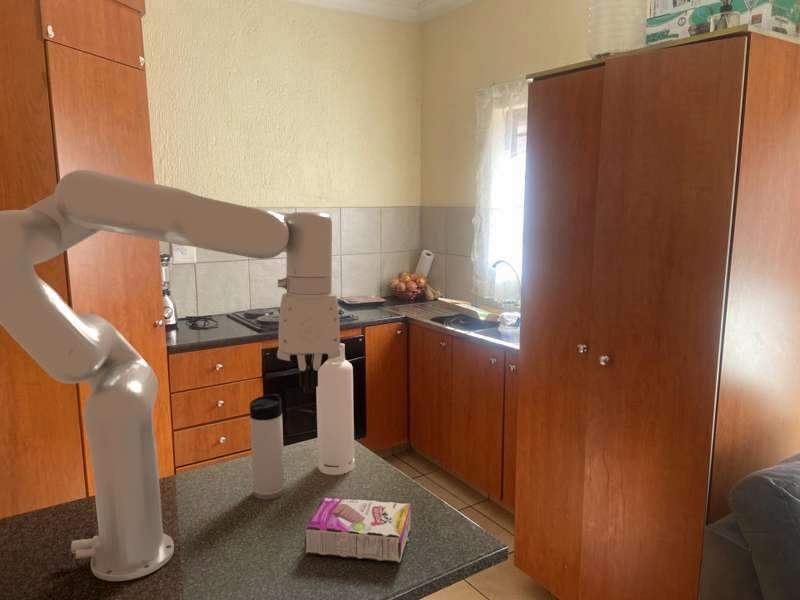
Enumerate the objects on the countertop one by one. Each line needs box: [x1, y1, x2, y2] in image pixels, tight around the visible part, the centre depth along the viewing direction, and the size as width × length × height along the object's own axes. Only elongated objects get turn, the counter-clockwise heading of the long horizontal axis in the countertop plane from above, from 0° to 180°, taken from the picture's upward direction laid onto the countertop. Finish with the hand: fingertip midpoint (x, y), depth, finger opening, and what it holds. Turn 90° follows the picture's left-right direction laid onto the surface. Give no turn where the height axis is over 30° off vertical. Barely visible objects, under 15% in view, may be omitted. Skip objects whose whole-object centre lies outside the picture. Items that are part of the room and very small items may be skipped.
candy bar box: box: [304, 496, 412, 564], centre depth 101 cm, size 11×5×16 cm
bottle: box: [315, 342, 355, 476], centre depth 128 cm, size 8×8×28 cm
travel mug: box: [249, 393, 286, 501], centre depth 117 cm, size 6×7×20 cm
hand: (308, 390), depth 101 cm, fingers closed
